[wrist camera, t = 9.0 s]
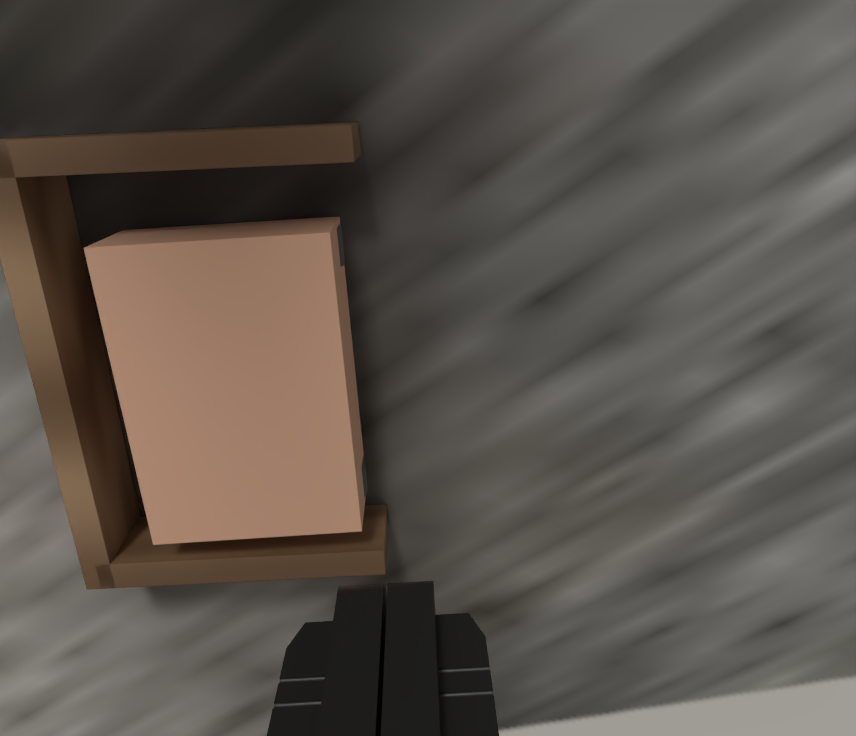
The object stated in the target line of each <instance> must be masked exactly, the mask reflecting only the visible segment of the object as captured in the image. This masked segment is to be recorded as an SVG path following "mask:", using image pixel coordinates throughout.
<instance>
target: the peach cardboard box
mask: <svg viewBox="0 0 856 736" xmlns="http://www.w3.org/2000/svg"><path fill="white" fill-rule="evenodd" d="M84 252H85V256H86V261H87V265H88V269H89V273H90V278H91V282H92V286H93V291H94V295H95V299H96V303H97V308H98V312H99V316H100V320H101V325H102V329H103V333H104V337H105V342H106V346H107V350H108V355H109V359H110V363H111V367H112V372H113V376H114V380H115V384H116V389H117V393H118V397H119V401H120V406H121V410H122V414H123V418H124V423H125V427H126V431H127V436H128V440H129V444H130V448H131V453H132V457H133V461H134V465H135V470H136V474H137V478H138V482H139V487H140V491H141V495H142V500H143V504H144V508H145V512H146V517H147V521H148V525H149V529H150V534H151V538H152V542H153V545H158V544H174V543H189V542H205V541H221V540H236V539H252V538H267V537H283V536H299V535H314V534H330V533H345V532H361V531H362V526H363V517H364V508H365V498H366V495H367V493H368V483H367V473H366V463H365V457H364V452H363V442H362V433H361V423H360V413H359V403H358V393H357V383H356V374H355V364H354V354H353V344H352V334H351V324H350V315H349V305H348V295H347V285H346V275H345V265H344V264H345V256H344V246H343V236H342V226H341V224H340V216H339V217H323V218H307V219H291V220H275V221H259V222H243V223H226V224H210V225H194V226H178V227H162V228H146V229H130V230H122V231H120V232H118V233H116V234H113V235H111V236H109V237H107V238H105V239H102V240H100V241H98V242H96V243H93V244H91V245H89V246H87V247H84Z"/></svg>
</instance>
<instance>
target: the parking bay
mask: <svg viewBox="0 0 856 736" xmlns="http://www.w3.org/2000/svg"><path fill="white" fill-rule="evenodd" d="M360 155H361V148H360V134H359V122H344V123H322V124H299V125H277V126H254V127H232V128H210V129H187V130H165V131H142V132H120V133H97V134H75V135H52V136H30V137H16V138H5V139H0V259H1V263H2V267H3V271H4V275H5V279H6V282H7V286H8V290H9V294H10V298H11V301H12V305H13V309H14V313H15V317H16V321H17V324H18V328H19V332H20V336H21V340H22V343H23V347H24V351H25V355H26V359H27V363H28V366H29V370H30V374H31V378H32V382H33V386H34V389H35V393H36V397H37V401H38V405H39V408H40V412H41V416H42V420H43V424H44V428H45V431H46V435H47V439H48V443H49V447H50V450H51V454H52V458H53V462H54V466H55V470H56V473H57V477H58V481H59V485H60V489H61V492H62V496H63V500H64V504H65V508H66V512H67V515H68V519H69V523H70V527H71V531H72V534H73V538H74V542H75V546H76V550H77V554H78V557H79V561H80V565H81V569H82V573H83V577H84V580H85V584H86V588H87V589H106V588H125V587H145V586H165V585H184V584H204V583H224V582H243V581H263V580H283V579H303V578H322V577H342V576H362V575H381V574H386V555H387V534H388V521H387V507H386V504H379V505H365V508H364V517H363V526H362V531H361V532H345V533H330V534H314V535H299V536H283V537H267V538H252V539H236V540H221V541H205V542H189V543H174V544H158V545H153V542H152V538H151V534H150V529H149V525H148V521H147V517H146V516H140V511H139V506H138V502H137V497H136V493H135V488H134V484H133V479H132V474H131V470H130V465H129V461H128V456H127V451H126V447H125V442H124V438H123V433H122V429H121V424H120V419H119V415H118V410H117V406H116V401H115V397H114V392H113V387H112V383H111V378H110V374H109V369H108V365H107V360H106V355H105V351H104V346H103V342H102V337H101V333H100V328H99V323H98V319H97V314H96V310H95V305H94V300H93V296H92V291H91V287H90V282H89V278H88V273H87V268H86V264H85V259H84V255H83V250H82V246H81V241H80V236H79V232H78V227H77V223H76V218H75V214H74V209H73V204H72V200H71V195H70V191H69V186H68V182H67V177H66V175H81V174H103V173H126V172H148V171H170V170H192V169H214V168H236V167H259V166H281V165H303V164H325V163H347V162H355V161H356V160H357V159H358V158H359V156H360Z"/></svg>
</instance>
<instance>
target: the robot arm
mask: <svg viewBox="0 0 856 736" xmlns="http://www.w3.org/2000/svg"><path fill="white" fill-rule="evenodd" d="M267 736H499V732H498V725H497V717H496V710H495V703H494V696H493V688H492V681H491V674H490V668H489V659H488V652H487V645H486V637H485V635H484V634H483V633H482V631H481V630H480V628H479V627H478V626H477V624H476V623H475V621H474V620H473V619H472V617H471V616H470V614H469V613H462V614H444V615H435V601H434V585H433V581H424V582H407V583H389V584H388V591H387V594H386V587H385V584H375V585H358V586H340V587H339V588H338V592H337V599H336V605H335V612H334V619H333V621H326V622H308V623H305V624H304V625H303V627H302V628H301V629H300V631H299V632H298V633H297V635H296V636H295V637H294V639H293V640H292V641H291V643H290V644H289V645H288V647H287V648H286V652H285V657H284V661H283V666H282V670H281V675H280V683H278V688H277V692H276V697H275V701H274V708H273V710H272V715H271V719H270V724H269V728H268V732H267Z"/></svg>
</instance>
